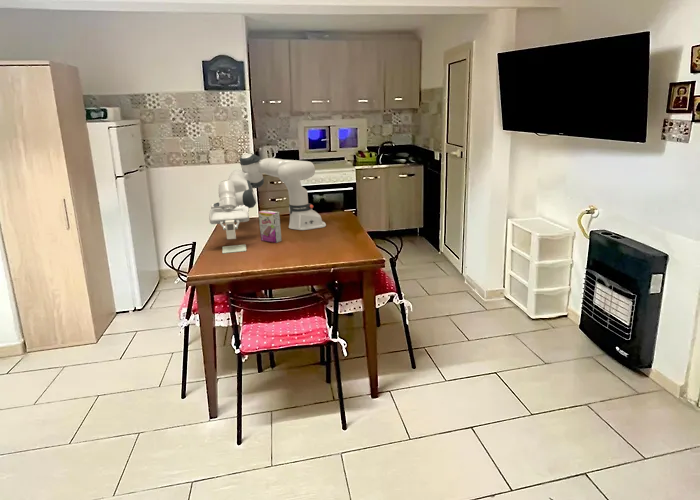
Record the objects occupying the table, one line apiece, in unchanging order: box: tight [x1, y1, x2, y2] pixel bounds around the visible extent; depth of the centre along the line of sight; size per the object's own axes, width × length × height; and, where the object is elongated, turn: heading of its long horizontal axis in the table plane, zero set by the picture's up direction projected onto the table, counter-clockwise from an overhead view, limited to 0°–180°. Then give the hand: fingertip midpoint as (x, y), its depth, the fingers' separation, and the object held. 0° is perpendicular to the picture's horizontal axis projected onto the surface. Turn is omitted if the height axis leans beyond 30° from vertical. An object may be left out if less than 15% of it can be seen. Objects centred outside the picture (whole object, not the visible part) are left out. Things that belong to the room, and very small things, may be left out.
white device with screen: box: [224, 220, 237, 240], centre depth 251 cm, size 4×5×9 cm
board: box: [222, 244, 247, 254], centre depth 253 cm, size 12×12×1 cm
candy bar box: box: [257, 210, 283, 244], centre depth 264 cm, size 11×5×16 cm, turn 59°
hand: (230, 229), depth 250 cm, fingers closed on white device with screen, 4 cm apart
